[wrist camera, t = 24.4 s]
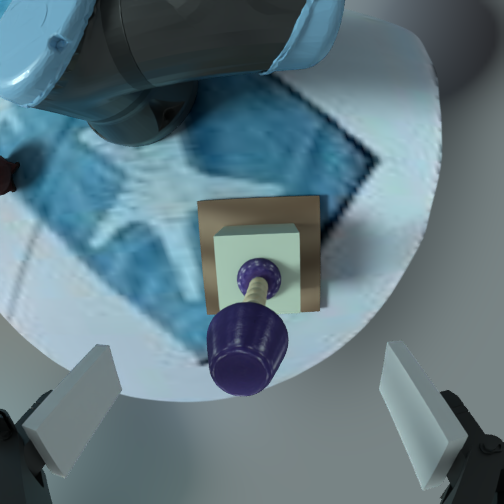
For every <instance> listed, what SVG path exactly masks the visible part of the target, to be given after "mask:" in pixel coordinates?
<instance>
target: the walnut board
mask: <svg viewBox="0 0 504 504" xmlns="http://www.w3.org/2000/svg"><path fill="white" fill-rule="evenodd" d="M197 205H198V219H199V232H200V245H201V257H202V268H203V278H204V289H205V299H206V308H207V315H211V314H217V313H218V312H219V311H220V308H219V297H218V286H217V274H216V262H215V250H214V237H213V236H214V235H215V234H216V233H217V232H219V231H220V230H221V229H222V228H223V227H224V226H238V225H260V224H285V223H294V224H295V226H296V228H297V230H298V231H299V237H300V312H315V311H320V198H319V196H284V197H259V198H238V199H221V200H205V201H197Z"/></svg>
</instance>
